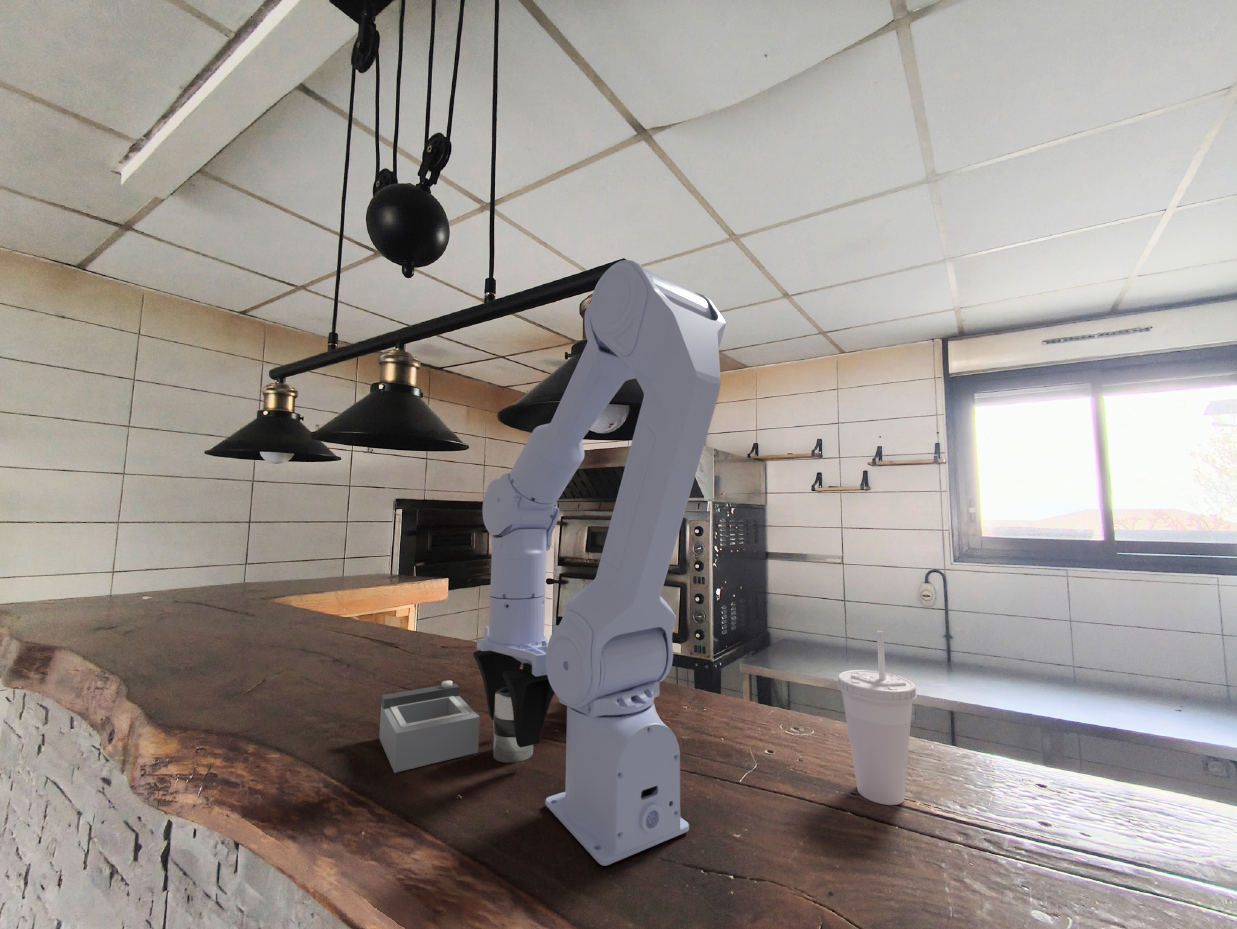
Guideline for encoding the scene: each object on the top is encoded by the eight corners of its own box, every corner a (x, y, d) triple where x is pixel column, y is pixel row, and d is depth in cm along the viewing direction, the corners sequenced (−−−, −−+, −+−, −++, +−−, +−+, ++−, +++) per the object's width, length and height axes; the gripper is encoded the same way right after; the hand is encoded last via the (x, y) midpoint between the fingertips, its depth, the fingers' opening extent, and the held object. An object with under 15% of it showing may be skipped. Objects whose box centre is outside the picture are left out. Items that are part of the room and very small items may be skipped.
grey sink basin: (478, 752, 52) (480, 701, 53) (394, 772, 48) (397, 717, 49) (453, 722, 60) (455, 678, 60) (379, 738, 56) (381, 690, 56)
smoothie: (921, 823, 41) (912, 642, 42) (835, 799, 44) (829, 632, 46) (923, 787, 46) (915, 628, 48) (846, 769, 50) (841, 620, 51)
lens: (540, 756, 52) (542, 693, 52) (500, 766, 49) (502, 700, 50) (524, 741, 55) (526, 682, 56) (486, 750, 53) (488, 688, 54)
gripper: (460, 589, 58) (454, 714, 57) (506, 609, 46) (501, 769, 44) (518, 585, 62) (515, 702, 60) (576, 602, 50) (573, 750, 48)
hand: (513, 730), depth 53 cm, fingers open, 7 cm apart
